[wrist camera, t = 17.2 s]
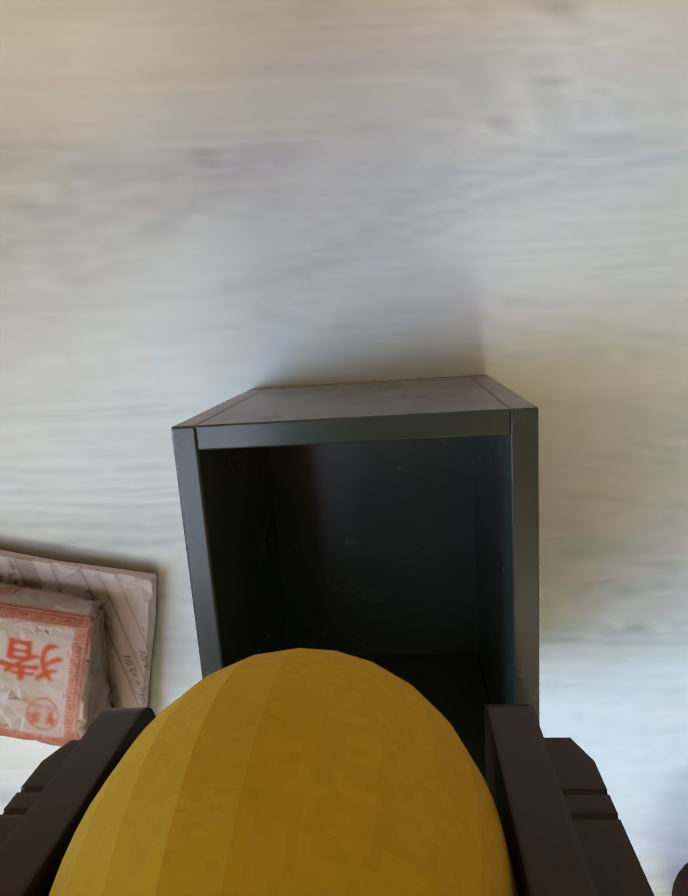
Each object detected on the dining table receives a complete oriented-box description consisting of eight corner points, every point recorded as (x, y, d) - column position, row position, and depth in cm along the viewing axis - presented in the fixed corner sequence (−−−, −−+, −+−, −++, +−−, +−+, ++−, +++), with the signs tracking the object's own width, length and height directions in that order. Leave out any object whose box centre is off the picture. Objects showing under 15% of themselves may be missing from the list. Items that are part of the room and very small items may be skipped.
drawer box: (250, 388, 30) (170, 427, 19) (486, 374, 29) (538, 407, 18) (277, 662, 33) (220, 826, 22) (492, 659, 31) (539, 831, 21)
